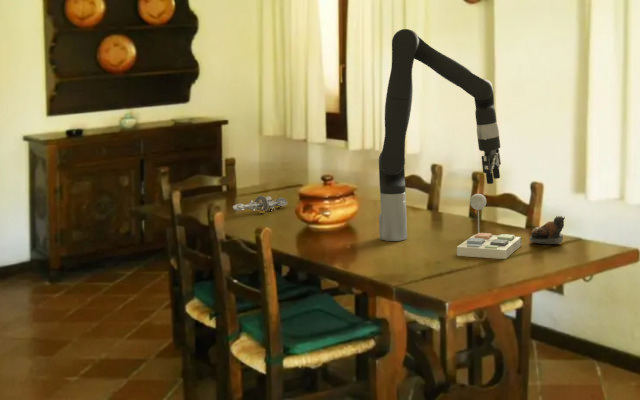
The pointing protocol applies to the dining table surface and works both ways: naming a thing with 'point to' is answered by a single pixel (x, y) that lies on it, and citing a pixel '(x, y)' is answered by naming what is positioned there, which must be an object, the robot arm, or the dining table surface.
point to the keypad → (488, 248)
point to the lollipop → (478, 203)
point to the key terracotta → (483, 235)
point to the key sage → (505, 237)
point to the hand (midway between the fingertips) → (493, 181)
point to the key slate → (476, 241)
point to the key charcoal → (499, 242)
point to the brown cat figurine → (549, 232)
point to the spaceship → (261, 204)
